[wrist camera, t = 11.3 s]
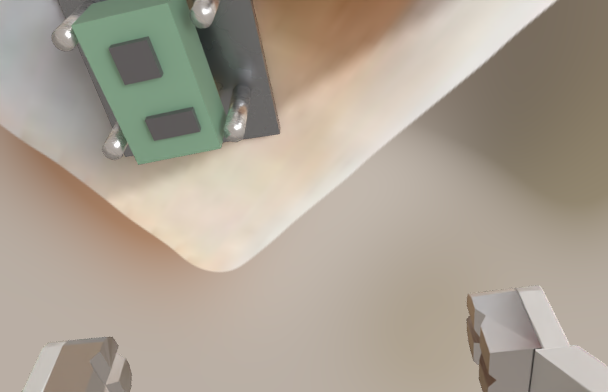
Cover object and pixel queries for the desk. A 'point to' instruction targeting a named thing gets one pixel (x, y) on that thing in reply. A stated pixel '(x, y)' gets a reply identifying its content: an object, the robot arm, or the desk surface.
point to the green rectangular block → (153, 76)
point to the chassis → (222, 62)
